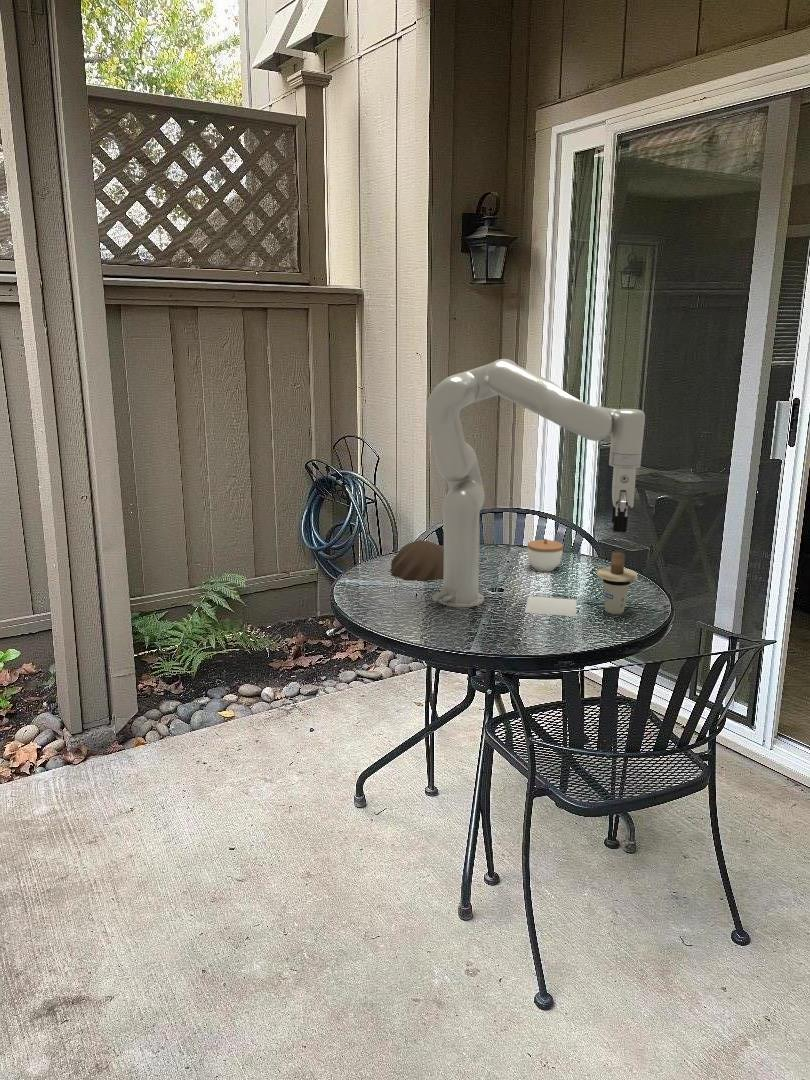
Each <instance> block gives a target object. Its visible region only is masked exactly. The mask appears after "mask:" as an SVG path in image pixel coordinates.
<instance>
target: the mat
mask: <svg viewBox="0 0 810 1080" xmlns="http://www.w3.org/2000/svg"><path fill="white" fill-rule="evenodd" d="M577 602H578V601H577V599H573V598H572V599H571V598H558V597H556V598H555V597H544V596H528V597H527V600H526V603H525V604H526V605H525V608H524V613H526V614H537V615H553V616H565V617H566V616H567V617H577V605H578V603H577Z"/></svg>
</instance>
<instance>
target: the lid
mask: <svg viewBox="0 0 810 1080" xmlns="http://www.w3.org/2000/svg"><path fill="white" fill-rule="evenodd" d="M625 556H626V554H625V553H623V552H618V551H617V552H612V553H611V561H610V566H607V567H602V568H598V569H597V570H596V576H597V577H598V578H599V579H602V580H603V579H605V580H609V581H615V582H628V581H630V582H632V581H636V580H637V579H638V572H636V571H635V570H632V569H629V568H625V561H626V560H625V559H626V557H625Z"/></svg>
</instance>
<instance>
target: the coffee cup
mask: <svg viewBox="0 0 810 1080" xmlns="http://www.w3.org/2000/svg"><path fill="white" fill-rule="evenodd" d="M602 582H603V598H604V610H605V613H608V614H611V615H612V614H613V615H621V614H623V613H624V612H625V608H626V601H627V597H628V593H629V587H630V585H631V581H628V582H615V581H609V580H605V579H602Z"/></svg>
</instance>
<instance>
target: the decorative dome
mask: <svg viewBox="0 0 810 1080" xmlns="http://www.w3.org/2000/svg"><path fill="white" fill-rule="evenodd" d="M443 556H444V547H442V546H441V545H438V544H437V543H435V542H432V541H429V540H422V539H421V540H414V541H413V542H408V543H406V544H405V545H404V546H402V547H401V548H400V549H399V550H398V553H397V554H396V555H395V556H394V557H393V558H392V560H391V563H390V564H391V565H390V567H391V570H392V571H391V574H390V575H391V576H395V577H398V578H399V579H401V580H402V579H403V580H402V581H415V580H417V581H416V582H420V581H425V582H429V581H428V580H430V581H438V580H437V579H443Z"/></svg>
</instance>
